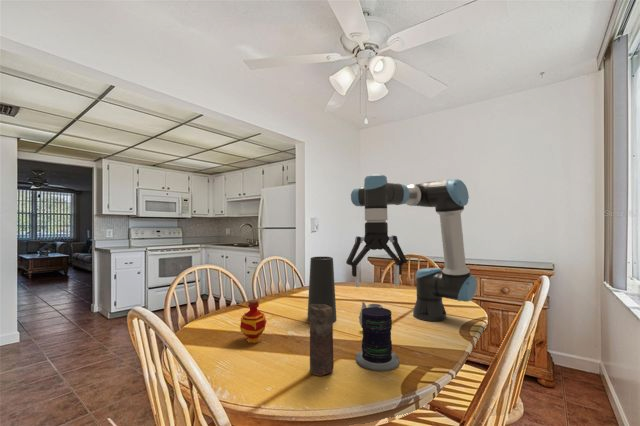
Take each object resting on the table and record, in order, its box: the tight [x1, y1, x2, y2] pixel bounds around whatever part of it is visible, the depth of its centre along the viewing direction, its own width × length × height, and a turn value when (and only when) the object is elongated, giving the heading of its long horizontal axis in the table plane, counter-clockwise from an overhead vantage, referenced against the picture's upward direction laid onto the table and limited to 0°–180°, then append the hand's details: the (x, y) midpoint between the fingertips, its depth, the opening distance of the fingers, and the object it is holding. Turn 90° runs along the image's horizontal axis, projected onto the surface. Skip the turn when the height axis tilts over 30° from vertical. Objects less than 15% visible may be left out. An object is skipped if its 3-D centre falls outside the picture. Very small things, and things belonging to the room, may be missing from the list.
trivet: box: [355, 349, 400, 372], centre depth 101 cm, size 14×14×1 cm
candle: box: [309, 304, 335, 377], centre depth 95 cm, size 8×7×20 cm
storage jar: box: [361, 307, 393, 364], centre depth 101 cm, size 10×10×15 cm
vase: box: [306, 256, 337, 323], centre depth 144 cm, size 14×14×29 cm
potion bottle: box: [239, 299, 267, 343], centre depth 119 cm, size 10×10×15 cm
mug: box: [358, 301, 384, 328], centre depth 131 cm, size 8×12×12 cm, turn 115°
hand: (377, 285), depth 102 cm, fingers open, 13 cm apart
